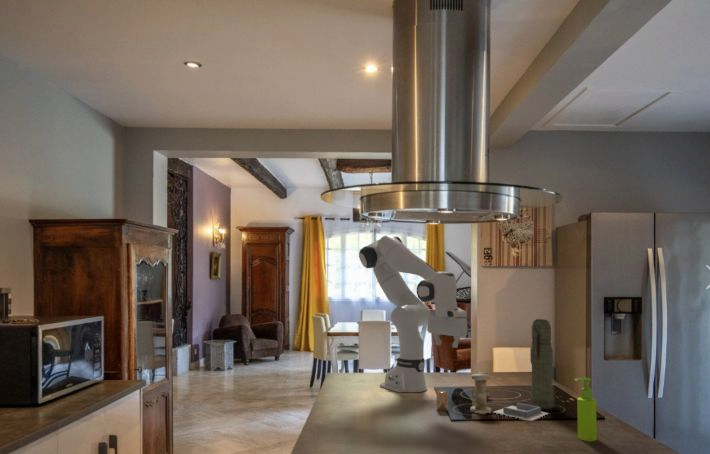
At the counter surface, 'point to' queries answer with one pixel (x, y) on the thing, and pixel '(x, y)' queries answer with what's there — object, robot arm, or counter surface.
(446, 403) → the copper plug
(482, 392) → the wooden spool
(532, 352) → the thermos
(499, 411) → the terminal board
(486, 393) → the push button
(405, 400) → the counter surface
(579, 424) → the soap dispenser
